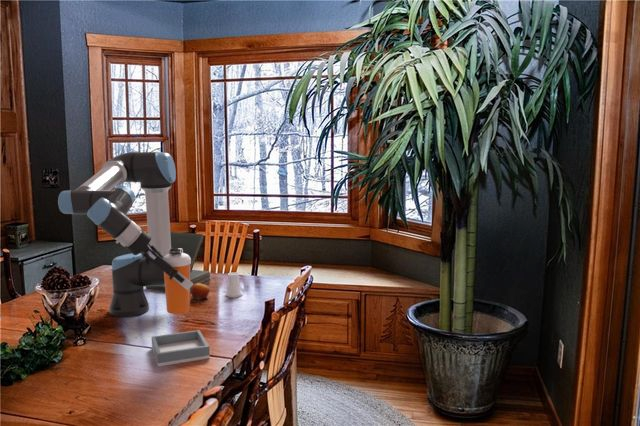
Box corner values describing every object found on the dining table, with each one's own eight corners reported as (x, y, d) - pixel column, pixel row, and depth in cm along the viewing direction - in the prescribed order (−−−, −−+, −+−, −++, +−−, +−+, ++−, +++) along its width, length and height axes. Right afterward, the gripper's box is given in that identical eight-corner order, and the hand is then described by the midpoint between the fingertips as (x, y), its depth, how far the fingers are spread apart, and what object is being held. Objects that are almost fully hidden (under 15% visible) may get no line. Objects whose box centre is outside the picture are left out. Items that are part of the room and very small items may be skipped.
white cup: (245, 294, 242) (245, 272, 240) (234, 298, 236) (234, 276, 234) (233, 291, 246) (232, 270, 244) (221, 295, 240) (221, 274, 238)
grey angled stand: (145, 289, 250) (143, 237, 247) (171, 279, 268) (169, 230, 265) (187, 294, 242) (185, 240, 239) (210, 283, 260) (209, 233, 257)
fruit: (184, 297, 231) (189, 280, 234) (194, 302, 238) (199, 285, 241) (200, 300, 228) (205, 282, 231) (209, 304, 235) (214, 287, 238)
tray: (152, 348, 180) (151, 336, 179) (199, 340, 186) (199, 329, 186) (158, 366, 165) (157, 354, 165) (209, 358, 172) (209, 346, 171)
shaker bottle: (167, 316, 168) (164, 254, 165) (161, 308, 176) (159, 249, 173) (195, 312, 172) (193, 251, 169) (188, 304, 180) (186, 246, 177)
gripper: (122, 241, 174) (174, 283, 183) (127, 254, 155) (185, 301, 163) (139, 224, 176) (189, 267, 184) (146, 235, 156) (202, 282, 165)
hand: (187, 283), depth 174 cm, fingers closed on shaker bottle, 9 cm apart
